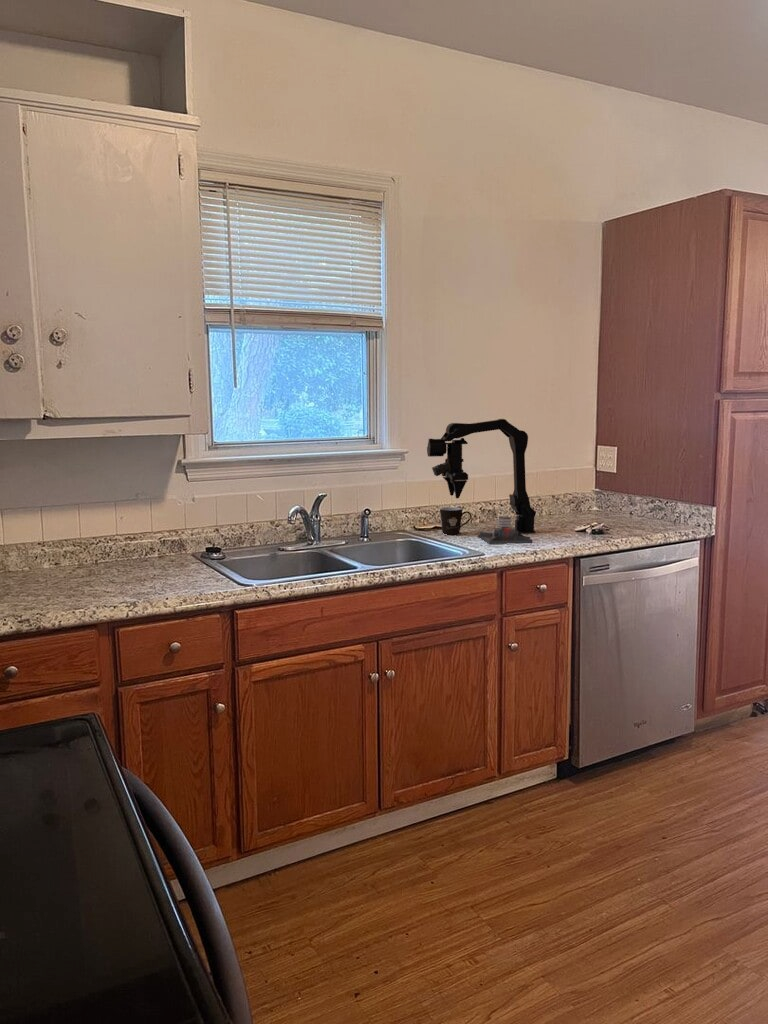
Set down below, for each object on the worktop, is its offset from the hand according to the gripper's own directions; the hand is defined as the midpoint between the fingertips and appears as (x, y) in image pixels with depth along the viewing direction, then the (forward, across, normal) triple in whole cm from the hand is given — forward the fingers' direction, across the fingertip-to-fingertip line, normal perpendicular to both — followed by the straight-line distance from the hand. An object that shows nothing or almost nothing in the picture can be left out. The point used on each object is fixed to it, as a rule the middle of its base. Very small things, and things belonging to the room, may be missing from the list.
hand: (454, 496), depth 299 cm
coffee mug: (+15, 0, 0) cm, 15 cm away
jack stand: (+15, +15, +15) cm, 26 cm away
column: (+13, +15, +15) cm, 25 cm away
